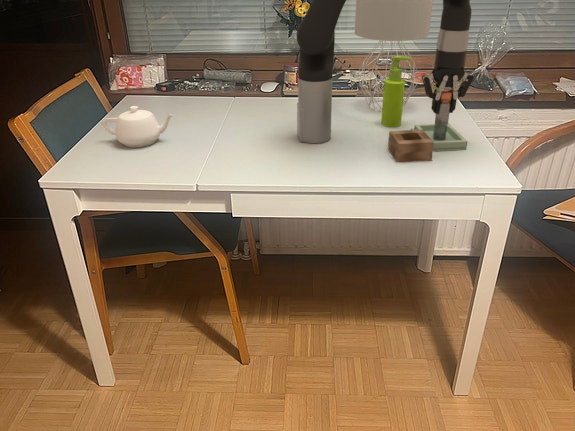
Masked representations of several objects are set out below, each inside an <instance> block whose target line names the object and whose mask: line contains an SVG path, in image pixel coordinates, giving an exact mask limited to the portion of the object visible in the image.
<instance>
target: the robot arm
mask: <svg viewBox="0 0 575 431" xmlns="http://www.w3.org/2000/svg"><path fill="white" fill-rule="evenodd" d="M346 1H347V0H312V1H311V4H310V6H309V8H308V9H307V11H306V13H305V15H304V17H303V18H302V20H301V22H300V23H299V25H298V27H297V31H296V43H297V45H298V47H299V60H298V67H297V68H298V70H297V72H298V73H297V77H298V78H297V80H298V82H297V84H298V85H297V86H298V87H297V89H298V90H297V97H298V98H297V104H296V114H297V115H296V116H297V117H296V122H297V124H296V128H297V129H296V133H297V138H298V142H299V143H309V144H322V143H326V142H328V141H330V140H331V138H332V136H331V134H332V108H333V106H332V105H333V104H332V103H333V101H332V100H333V75H334V74H333V73H334V64H335V40H336V39H335V38H336V34H335V33H336V32H335V30H336V27H337V24H338V20H339V18H340V15H341V12H342V10H343V8H344V6H345V5H346V4H345V3H346ZM470 1H471V0H442V13H441V19H440V26H439V32H438V36H437V40H436V49H435V58H434V68H433V70H432V71H431V73H429V74H427V75H426V74H422V75H421V81H422V84H423V88H424V92H425V95H426V96H427V98H428V99H432V101H431V107H430V108H431V111H432V112H433V113H434V115H436V114H438V111H439V104H440V100H439V99H440V96H441V93H442V92H443V90H444V89H446V88H449V89H448V90H452V99H451V106H450V113H449V114H453V113H454V112H455V110H456V107H457V100H458V99H459V98H464V97H465V96H466V94H467V92H468V90H469V89H470V86H471V84H472V82H473V81H474V79H475V76H474V75H472V74H471V73H467V72H466V71H465V67H466V66H465V65H466V59H467V58H466V57H467V52H468V45H469V38H470V33H469V32H470V26H471V21H472V20H471V19H472V7H471V3H470ZM433 79H434V81H435V84H434V89H432V85H431V84H432V82H433ZM461 79H462V82H461V84H460V86H459V83H460V81H461Z"/></svg>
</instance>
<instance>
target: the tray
mask: <svg viewBox="0 0 575 431" xmlns="http://www.w3.org/2000/svg"><path fill="white" fill-rule="evenodd" d="M434 124H435V123H424V124H414V128H413V130H423V131H424V132H425V133H426V134H427V135H428V136H429V137H430V138H431V140H432V141H433V142H434V145H433V152H432V153H435V152H450V151H451V152H452V151H466V150H467V146H468V140H467V139H466V138H465V137H463V135H461V133H460V132H458V130H456V129H455V128H454V127H453V126H452V125H451V124H450V123H449V122H448V127H447V133H446V138H445V139H442V140H440V139H435V138H433V132H434Z"/></svg>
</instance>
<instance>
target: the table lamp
mask: <svg viewBox="0 0 575 431" xmlns="http://www.w3.org/2000/svg"><path fill="white" fill-rule="evenodd" d="M433 3H434V0H355V19H354V35H355V36H357V37H360V38H363V39H368V40H374V41H378V42H377V43H376V45H375V46H374V47H373V48H372V50H370V52H369V53H368V55H367V56H366V58H365V59H364V60H363V61H362V63H361V66H360V68H359V70H358V73H357V81H358V82H359V86H360V88H361V91H362V94H363V96H364V98H365V101H366V104H367V107H368V108H369V109H370V108H371V104H372V105H373V108H372V109H373V111H375V110H377V112H380V111H382V107H381V106H380V104H379V103H378V102H380V99H379V96H377V100H376V99H375V98H374V97H375V95H376V94H379V92H381V93H382V95H383V93H384V91H382V90H384V87H383V88H380V86H379V84H380V83H381V82H382V81H383V80H384V81H385V79H388V78H389V76H388V75H389V73H390V71H389V72H388V73H387V70H388V64H389V65H390V67H393V63H392V56H393V42H394V45H395V51H396V56H399V54H398V49H397V44H398V48H399V50H400V53H401V54H402V55H401V56H407V55H406V54H408V57H410V58H411V60H410V61H411V62H412V64H411V63H410V61H408V60H403V65H404V66H406V63H407V64H408V65H409V69H410V72H411V74H410V73H409V72H407V71H406V70H405V69H404V68H403V69H402V72H404V74H403V78H402V79H403V80H405V76H406V74H407V75H408V76H409V77H411V78H410V79H408V80H407V81H405V84H406V83H408V82H410V81H411V84H410V86H409V88H407V89H406V90H404V94H405V93H406V94H405V95H404V98H403V108H404V107H405V106H406V104H407V102H408V100H409V99H410V97H411V95H412V94H413V93H414V90H415V88H416V87H417V85H418V84H419V81H420V78H419V77H420V76H417V82H416V83H415V81H416V76H415V71H416V73H417V75H419V72H418V68H417V65H416V62H415V61H414V59H413V57H412V56H411V54H410V52H409V50H408V49H407V48H406V45H405V44H404V41H405V42H406V41H414V40H422V39H425V38H427V37H428V36H430V28H431V22H432V21H431V20H432V12H433ZM382 41H383V44H382V45H381V43H382ZM387 41H388V44H389V45H388V50H387V51H388V52H387V59H386V60H385V59H384V58H383V57H381V54H382V51H383V49H384V47H385V44H386V42H387ZM396 42H397V44H396ZM380 45H381V46H382V47H381V48H380V50H379V53H378V55H377V57H376V58H374V59H372V61H371V62H369V61H370V59H371V58H372V56H373V54H374V53H375V52H376V51H377V49H378V47H379V46H380ZM390 47H391V50H390ZM390 51H391V52H390ZM405 52H406V53H405ZM390 54H391V55H390ZM389 56H390V62H388V61H389ZM379 58H380V59H382V60H384V61H385V62H386V68H385V75H384V76H383V75H382V74H381V73H380V72H379V70H378V63H379V60H380V59H379ZM366 59H367V60H366ZM368 62H369V63H368ZM405 62H406V63H405ZM372 63H374V64H373V66H372V67H370V68H369V69H367V70H366V67H369V65H370V64H372ZM375 65H376V66H375ZM399 67H400V68H401V65H400V63H399ZM371 69H372V70H371ZM374 69H375V71H374ZM369 70H371V73H370V76H368V75H366V74H365V73H367V72H368V71H369ZM412 70H413V71H412ZM360 71H361V72H360ZM373 72H375V73H378V74H379V75H380V76H381V79H380V80H379V81H378V78H377V75H375V80H376V81H374V80H373V79H372V75H373ZM359 76H360V77H359ZM362 76H363V77H362ZM387 76H388V77H387ZM361 78H362V79H361ZM366 78H368V79H369V81H368V83H367V80H366ZM361 80H362V82H361ZM364 81H365V84H366V87H365V86H364ZM371 81H372V82H374V84H376V85H375V88H374V90H373V91H374V92H373V94H372V91H371ZM363 88H364V89H363ZM378 88H379V89H378ZM365 90H366V92H367V93H368V95H367V94H366V92H365ZM368 100H369V102H368ZM377 101H378V102H377ZM371 102H373V103H371ZM370 103H371V104H370ZM374 103H376V105H377V106H378V107H379V108H380V110H378V109H376V108H375V104H374Z"/></svg>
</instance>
